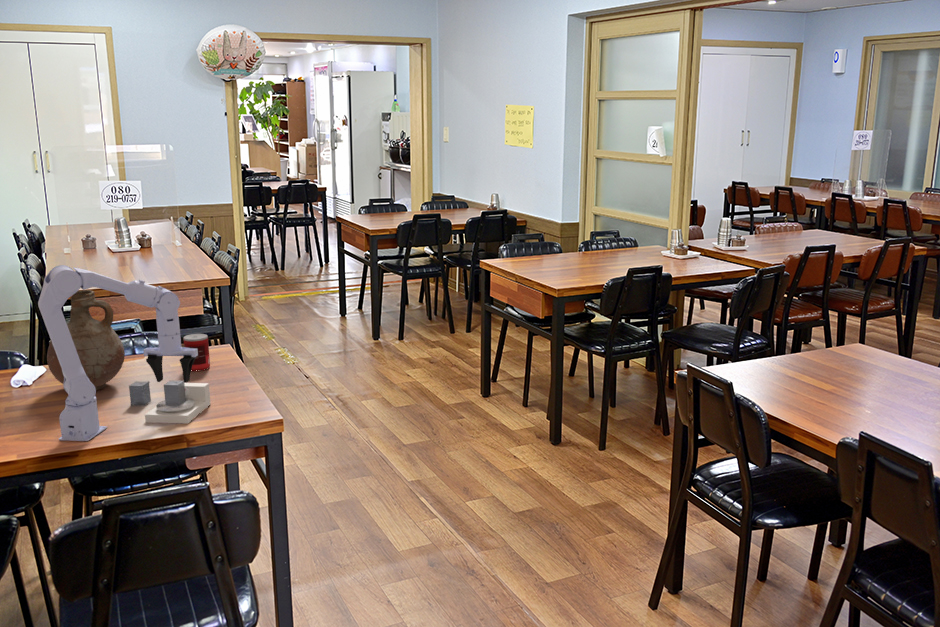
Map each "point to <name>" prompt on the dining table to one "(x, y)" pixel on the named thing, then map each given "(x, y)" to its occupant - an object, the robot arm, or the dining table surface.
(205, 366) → the canned food
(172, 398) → the block
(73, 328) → the jug
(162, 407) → the pan
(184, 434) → the dining table surface
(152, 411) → the scale
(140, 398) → the block
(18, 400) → the dining table surface
